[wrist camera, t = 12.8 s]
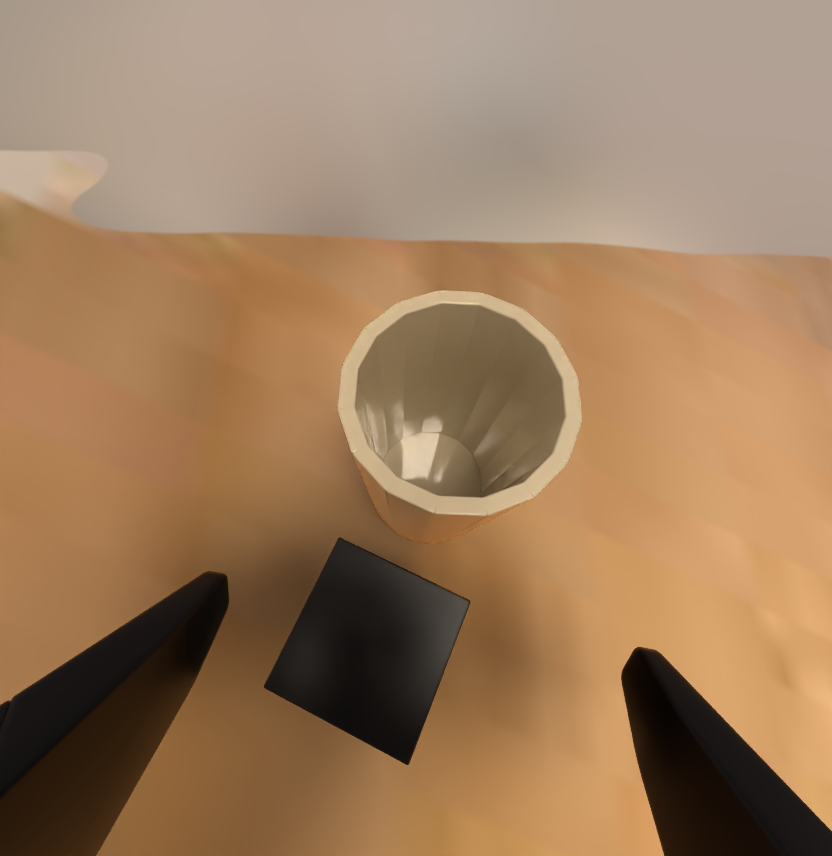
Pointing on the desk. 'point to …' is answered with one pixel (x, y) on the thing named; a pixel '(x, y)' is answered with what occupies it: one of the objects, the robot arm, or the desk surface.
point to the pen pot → (456, 411)
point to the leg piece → (370, 649)
